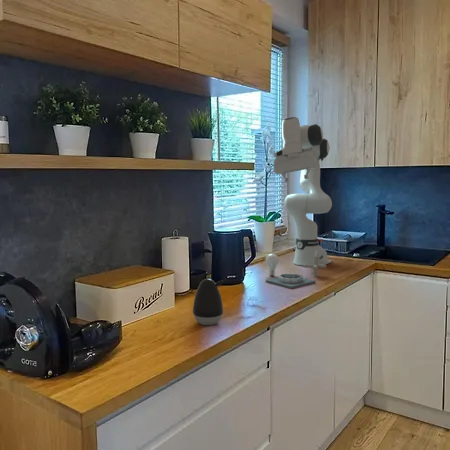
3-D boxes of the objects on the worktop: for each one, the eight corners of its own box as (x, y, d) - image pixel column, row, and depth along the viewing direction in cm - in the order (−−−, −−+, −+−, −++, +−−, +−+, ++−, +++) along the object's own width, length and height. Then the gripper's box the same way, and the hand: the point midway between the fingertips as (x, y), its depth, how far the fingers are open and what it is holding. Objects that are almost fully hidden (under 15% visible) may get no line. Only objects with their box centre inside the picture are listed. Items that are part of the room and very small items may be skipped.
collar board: (289, 276, 219) (289, 270, 219) (315, 283, 207) (315, 276, 207) (265, 281, 209) (265, 275, 209) (291, 288, 197) (291, 282, 197)
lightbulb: (274, 277, 217) (275, 255, 216) (263, 276, 221) (263, 254, 219) (280, 275, 223) (280, 253, 221) (269, 273, 226) (269, 252, 225)
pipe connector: (326, 279, 215) (326, 258, 214) (304, 278, 217) (305, 257, 216) (325, 274, 225) (326, 254, 224) (305, 273, 227) (305, 253, 226)
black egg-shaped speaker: (227, 326, 149) (227, 281, 148) (196, 329, 146) (196, 283, 145) (219, 316, 159) (219, 274, 157) (190, 319, 156) (189, 276, 154)
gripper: (317, 148, 208) (320, 177, 207) (275, 156, 217) (278, 184, 216) (313, 145, 203) (316, 175, 201) (271, 154, 212) (273, 183, 211)
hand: (296, 180), depth 209 cm, fingers open, 8 cm apart
